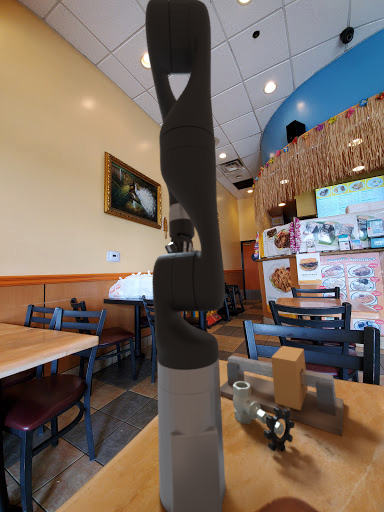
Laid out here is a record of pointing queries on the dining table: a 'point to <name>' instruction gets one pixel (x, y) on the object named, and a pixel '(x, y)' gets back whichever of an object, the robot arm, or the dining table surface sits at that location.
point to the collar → (289, 377)
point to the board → (308, 414)
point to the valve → (261, 416)
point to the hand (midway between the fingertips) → (184, 279)
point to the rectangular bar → (308, 378)
